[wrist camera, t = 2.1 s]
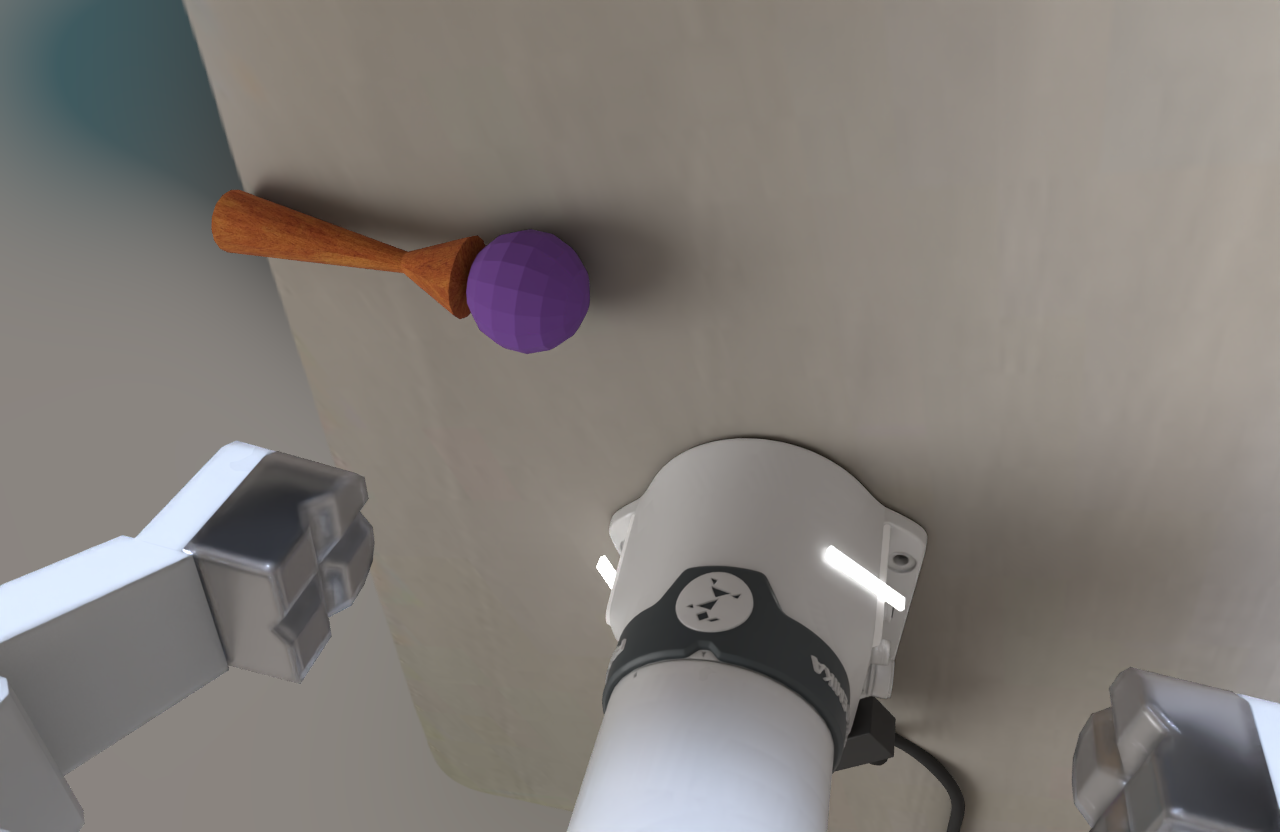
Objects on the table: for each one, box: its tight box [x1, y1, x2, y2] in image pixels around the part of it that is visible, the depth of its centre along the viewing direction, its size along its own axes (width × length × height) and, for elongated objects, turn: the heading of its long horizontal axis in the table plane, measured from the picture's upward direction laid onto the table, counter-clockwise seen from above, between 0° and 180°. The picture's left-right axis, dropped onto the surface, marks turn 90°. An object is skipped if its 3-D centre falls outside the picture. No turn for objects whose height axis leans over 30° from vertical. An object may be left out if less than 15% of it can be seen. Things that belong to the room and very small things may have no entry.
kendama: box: [212, 190, 590, 354], centre depth 48 cm, size 6×6×20 cm
